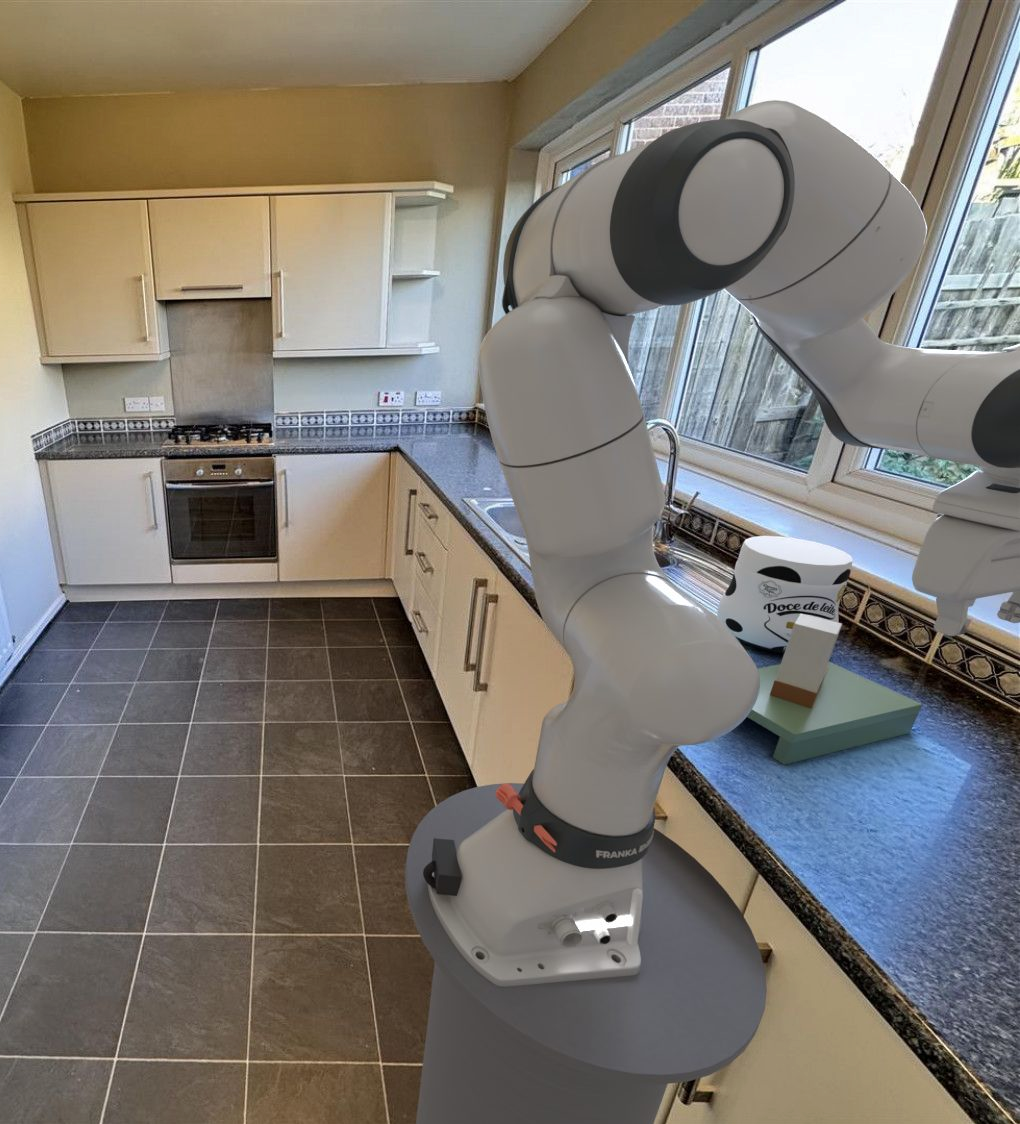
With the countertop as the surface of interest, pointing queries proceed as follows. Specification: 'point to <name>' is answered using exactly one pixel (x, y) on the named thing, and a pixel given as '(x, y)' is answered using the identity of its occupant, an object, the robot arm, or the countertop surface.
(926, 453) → the robot arm
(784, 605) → the doce de leite container
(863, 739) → the shoe shelf
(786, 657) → the grey-brown block
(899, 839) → the countertop surface
